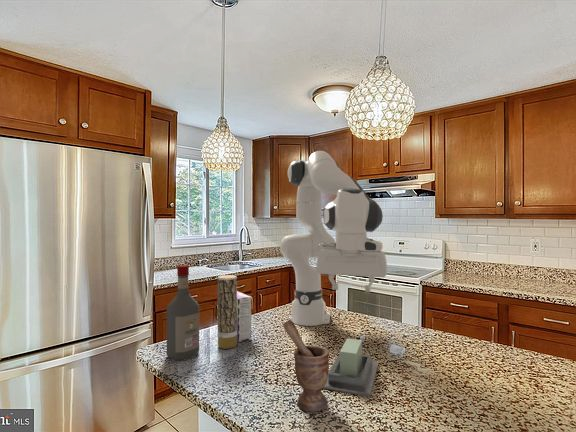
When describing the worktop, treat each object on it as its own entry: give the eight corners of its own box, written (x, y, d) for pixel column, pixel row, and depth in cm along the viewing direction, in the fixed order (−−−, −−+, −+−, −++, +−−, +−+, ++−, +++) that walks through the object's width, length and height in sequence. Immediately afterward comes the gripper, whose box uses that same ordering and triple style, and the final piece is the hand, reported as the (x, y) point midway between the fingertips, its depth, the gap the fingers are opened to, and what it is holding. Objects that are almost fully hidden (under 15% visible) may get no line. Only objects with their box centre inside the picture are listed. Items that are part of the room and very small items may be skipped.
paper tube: (232, 350, 118) (232, 278, 118) (214, 349, 120) (214, 278, 120) (239, 343, 125) (239, 275, 125) (222, 342, 126) (222, 274, 127)
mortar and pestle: (280, 412, 80) (280, 327, 81) (284, 393, 89) (283, 317, 89) (329, 414, 79) (329, 329, 80) (328, 395, 88) (328, 318, 88)
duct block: (340, 380, 95) (339, 351, 95) (347, 364, 105) (347, 338, 105) (356, 382, 93) (356, 353, 93) (362, 366, 103) (361, 340, 103)
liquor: (202, 354, 115) (202, 265, 115) (178, 363, 108) (178, 268, 108) (186, 347, 121) (186, 263, 121) (163, 355, 114) (163, 266, 114)
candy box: (223, 332, 137) (223, 291, 138) (236, 329, 141) (236, 289, 141) (237, 342, 126) (237, 298, 126) (252, 339, 129) (252, 296, 129)
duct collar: (336, 359, 111) (336, 349, 111) (378, 365, 106) (377, 354, 106) (321, 388, 92) (321, 376, 92) (370, 396, 87) (370, 383, 87)
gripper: (313, 243, 100) (313, 290, 100) (386, 245, 93) (386, 295, 93) (319, 241, 106) (319, 286, 106) (387, 243, 99) (387, 291, 99)
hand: (351, 290), depth 99 cm, fingers open, 8 cm apart
